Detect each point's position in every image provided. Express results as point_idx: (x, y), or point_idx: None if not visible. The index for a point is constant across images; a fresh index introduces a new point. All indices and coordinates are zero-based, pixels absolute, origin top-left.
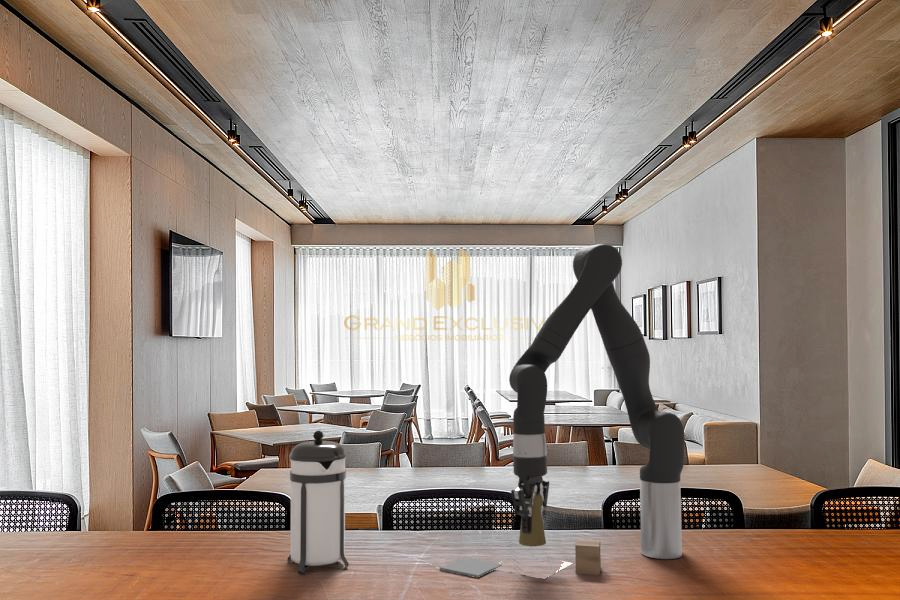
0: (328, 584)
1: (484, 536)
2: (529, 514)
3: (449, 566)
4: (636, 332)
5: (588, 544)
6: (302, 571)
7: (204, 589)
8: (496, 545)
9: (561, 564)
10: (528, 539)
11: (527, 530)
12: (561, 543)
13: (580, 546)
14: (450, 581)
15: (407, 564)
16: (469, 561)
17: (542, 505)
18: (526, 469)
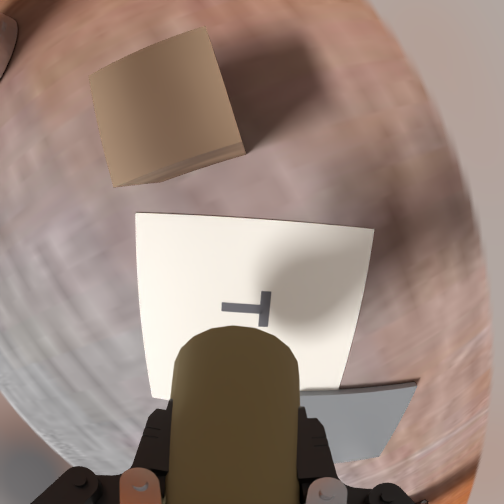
0: (456, 471)
1: (102, 465)
2: (339, 489)
3: (368, 451)
4: None
5: (190, 82)
6: (427, 502)
7: (464, 494)
8: (132, 445)
9: (175, 243)
10: (299, 390)
11: (318, 423)
12: (12, 321)
13: (233, 114)
14: (440, 403)
15: None
16: None
17: (125, 498)
18: None
